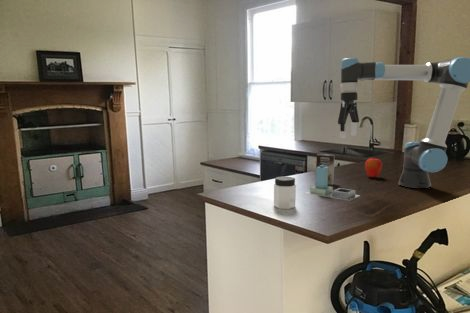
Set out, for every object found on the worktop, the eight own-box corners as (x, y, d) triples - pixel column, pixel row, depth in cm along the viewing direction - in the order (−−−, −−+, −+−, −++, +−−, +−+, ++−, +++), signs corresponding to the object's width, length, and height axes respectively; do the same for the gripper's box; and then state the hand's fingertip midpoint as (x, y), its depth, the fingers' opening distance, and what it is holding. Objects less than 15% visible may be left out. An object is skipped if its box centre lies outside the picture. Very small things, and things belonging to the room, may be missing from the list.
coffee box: (314, 185, 201) (315, 154, 199) (316, 182, 207) (317, 153, 205) (332, 186, 198) (334, 155, 196) (333, 184, 204) (335, 154, 202)
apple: (361, 177, 222) (362, 156, 221) (369, 175, 228) (370, 155, 227) (376, 179, 216) (377, 158, 214) (384, 177, 222) (385, 157, 220)
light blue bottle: (327, 192, 181) (328, 165, 179) (323, 193, 178) (324, 166, 176) (319, 190, 184) (320, 164, 182) (315, 192, 180) (316, 165, 179)
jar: (282, 202, 166) (282, 175, 164) (298, 206, 161) (299, 177, 159) (270, 206, 159) (270, 178, 158) (286, 210, 154) (287, 181, 152)
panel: (360, 197, 175) (360, 190, 175) (350, 202, 166) (350, 194, 166) (316, 190, 189) (316, 183, 188) (304, 195, 180) (304, 187, 179)
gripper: (351, 92, 193) (350, 134, 196) (330, 92, 173) (330, 139, 176) (366, 91, 188) (365, 134, 191) (346, 91, 168) (346, 139, 171)
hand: (348, 137), depth 184 cm, fingers open, 13 cm apart
